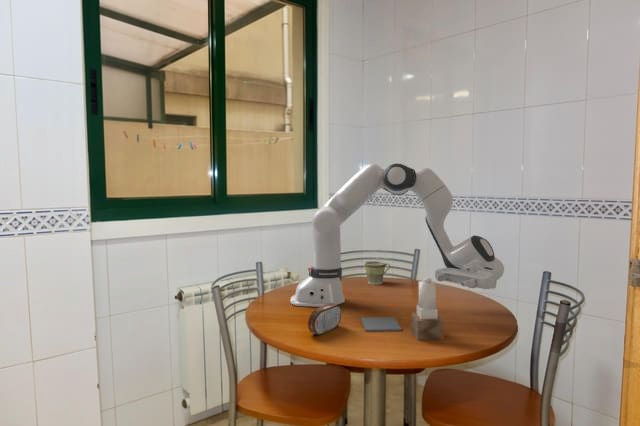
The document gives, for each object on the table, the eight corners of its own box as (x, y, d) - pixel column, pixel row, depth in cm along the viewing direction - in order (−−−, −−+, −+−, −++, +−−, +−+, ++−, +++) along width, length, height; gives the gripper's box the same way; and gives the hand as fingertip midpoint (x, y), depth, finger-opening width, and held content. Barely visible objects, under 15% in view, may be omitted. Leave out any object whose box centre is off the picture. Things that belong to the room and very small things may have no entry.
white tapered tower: (420, 319, 127) (421, 280, 126) (416, 314, 132) (416, 276, 131) (437, 319, 127) (438, 280, 126) (432, 313, 132) (433, 276, 131)
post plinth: (417, 339, 126) (417, 311, 125) (411, 330, 134) (411, 303, 133) (443, 339, 126) (443, 311, 125) (435, 330, 134) (435, 303, 133)
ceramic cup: (369, 286, 193) (369, 265, 192) (361, 281, 203) (361, 261, 202) (394, 284, 197) (394, 263, 196) (385, 279, 206) (385, 260, 206)
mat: (365, 331, 133) (365, 329, 133) (361, 319, 145) (361, 317, 145) (402, 330, 134) (402, 329, 134) (394, 318, 146) (394, 317, 146)
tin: (335, 324, 141) (335, 300, 140) (343, 326, 139) (343, 301, 138) (307, 336, 129) (307, 310, 129) (314, 339, 127) (314, 312, 127)
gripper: (447, 262, 153) (425, 267, 144) (500, 270, 137) (478, 276, 128) (447, 278, 153) (425, 285, 145) (500, 289, 137) (478, 296, 129)
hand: (450, 281), depth 136 cm, fingers open, 8 cm apart
